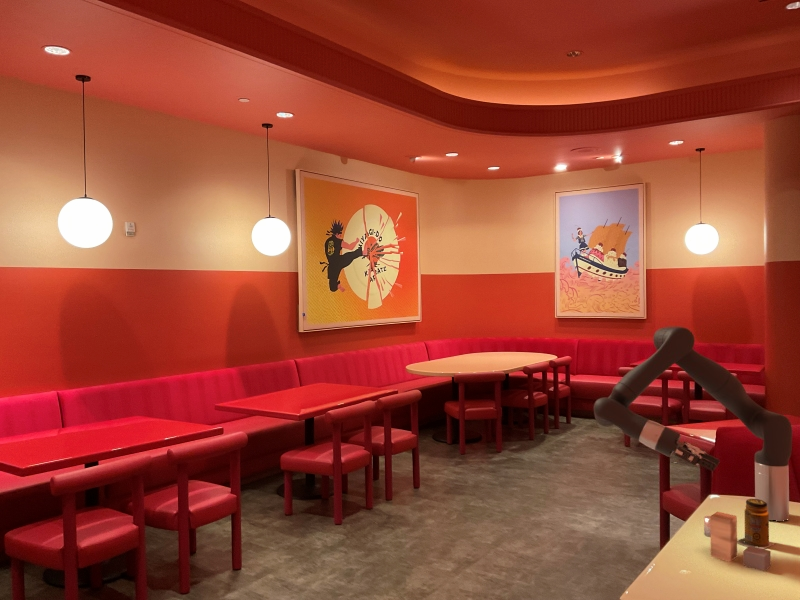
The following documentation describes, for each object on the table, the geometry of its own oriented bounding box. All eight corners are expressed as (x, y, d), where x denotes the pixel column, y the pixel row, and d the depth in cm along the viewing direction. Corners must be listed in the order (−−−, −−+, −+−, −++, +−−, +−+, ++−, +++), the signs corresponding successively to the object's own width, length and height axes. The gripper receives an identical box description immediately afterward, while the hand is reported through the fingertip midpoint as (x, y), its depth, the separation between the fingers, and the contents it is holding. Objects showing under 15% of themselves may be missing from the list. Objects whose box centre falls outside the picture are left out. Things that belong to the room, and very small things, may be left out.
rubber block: (749, 560, 170) (749, 545, 170) (770, 566, 166) (770, 550, 166) (743, 566, 166) (743, 551, 166) (764, 572, 163) (764, 556, 162)
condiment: (775, 544, 180) (775, 502, 180) (760, 551, 175) (759, 508, 175) (749, 536, 186) (749, 495, 186) (733, 542, 181) (733, 501, 181)
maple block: (717, 550, 176) (717, 511, 176) (737, 556, 172) (736, 515, 172) (710, 556, 172) (710, 516, 172) (730, 561, 169) (729, 520, 169)
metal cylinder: (707, 531, 190) (707, 514, 190) (721, 535, 187) (721, 518, 187) (702, 535, 187) (701, 518, 187) (716, 538, 184) (716, 521, 184)
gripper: (660, 428, 177) (719, 457, 169) (668, 424, 189) (725, 450, 181) (649, 452, 178) (708, 482, 170) (658, 446, 190) (714, 474, 182)
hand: (716, 465), depth 175 cm, fingers open, 8 cm apart
